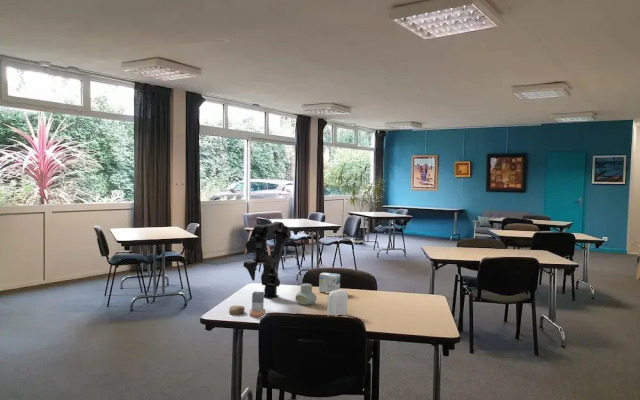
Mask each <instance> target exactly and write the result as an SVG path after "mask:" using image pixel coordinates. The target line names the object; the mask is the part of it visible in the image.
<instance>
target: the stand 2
mask: <svg viewBox="0 0 640 400" xmlns="http://www.w3.org/2000/svg"><path fill="white" fill-rule="evenodd" d="M264 314H265V315H266V309H265V308H263V310H262V311H261V312H258V311H252V308H250V309H249V316H250V317H251V318H255V317H256V319H257V318H258V317H260V318H262V317H261V316H263V315H264ZM258 319H259V318H258Z"/></svg>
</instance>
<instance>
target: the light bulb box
mask: <svg viewBox="0 0 640 400" xmlns="http://www.w3.org/2000/svg"><path fill="white" fill-rule="evenodd" d="M318 277H319V281H318V285H319V286H318V292H319V291H320V292H331V291H334V290H339V289H341V274H339V273H331V272H321V273H320V274H319V276H318Z"/></svg>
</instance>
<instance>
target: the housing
mask: <svg viewBox="0 0 640 400" xmlns="http://www.w3.org/2000/svg"><path fill="white" fill-rule="evenodd" d="M251 295H252V296H251V297H252V298H251V309H252V311H258V312H261V311H262V310H263V309H264V300H265V299H264V298H265V297H264V291H253V293H252V294H251Z"/></svg>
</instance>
